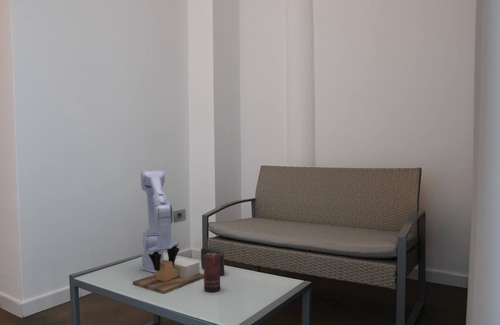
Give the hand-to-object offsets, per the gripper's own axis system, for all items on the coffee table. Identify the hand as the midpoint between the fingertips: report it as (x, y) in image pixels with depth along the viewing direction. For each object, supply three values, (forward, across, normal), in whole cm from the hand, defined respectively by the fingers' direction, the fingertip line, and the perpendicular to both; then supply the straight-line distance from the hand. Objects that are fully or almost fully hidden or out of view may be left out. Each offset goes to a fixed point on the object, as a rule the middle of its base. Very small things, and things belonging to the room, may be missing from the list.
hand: (164, 268), depth 163 cm
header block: (+5, +10, 0) cm, 11 cm away
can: (+6, +5, -21) cm, 22 cm away
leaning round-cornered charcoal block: (+6, +22, -6) cm, 24 cm away
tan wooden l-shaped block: (+5, +5, 0) cm, 7 cm away
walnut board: (+6, +3, 0) cm, 7 cm away
